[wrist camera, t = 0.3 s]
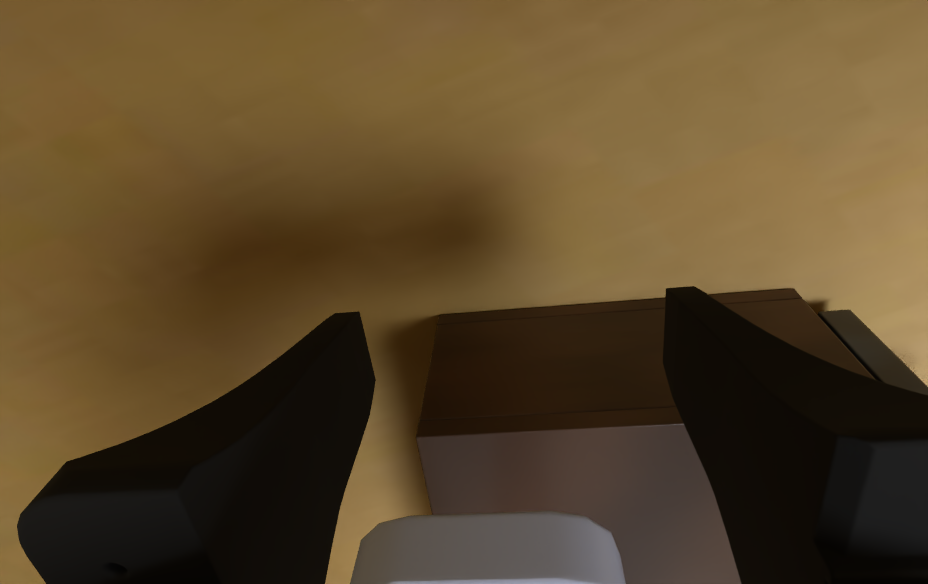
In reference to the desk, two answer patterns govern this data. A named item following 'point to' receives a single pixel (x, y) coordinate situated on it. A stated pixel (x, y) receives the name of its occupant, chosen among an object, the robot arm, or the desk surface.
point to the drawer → (871, 351)
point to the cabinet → (589, 424)
